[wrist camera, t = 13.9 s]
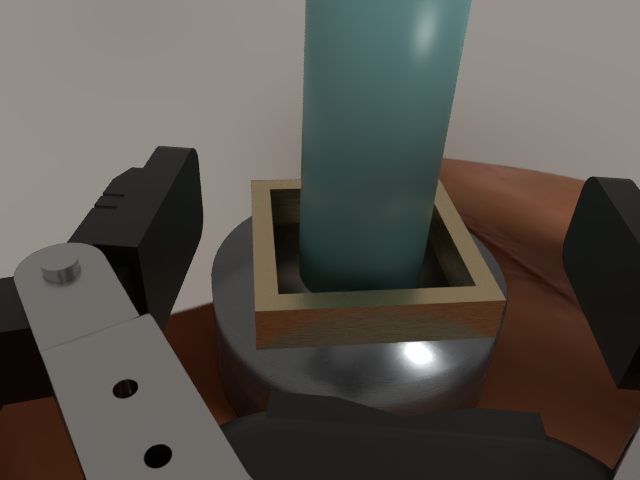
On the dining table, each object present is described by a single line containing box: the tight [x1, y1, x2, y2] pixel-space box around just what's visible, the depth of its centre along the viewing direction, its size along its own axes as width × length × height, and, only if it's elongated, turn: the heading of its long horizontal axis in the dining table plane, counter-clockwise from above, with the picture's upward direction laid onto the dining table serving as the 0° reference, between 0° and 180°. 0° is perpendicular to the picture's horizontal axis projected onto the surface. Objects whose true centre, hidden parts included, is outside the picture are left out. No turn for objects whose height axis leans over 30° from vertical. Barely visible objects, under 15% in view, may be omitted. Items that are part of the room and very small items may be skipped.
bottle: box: [299, 0, 471, 293], centre depth 20 cm, size 5×5×14 cm
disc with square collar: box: [211, 179, 507, 417], centre depth 25 cm, size 12×12×7 cm
